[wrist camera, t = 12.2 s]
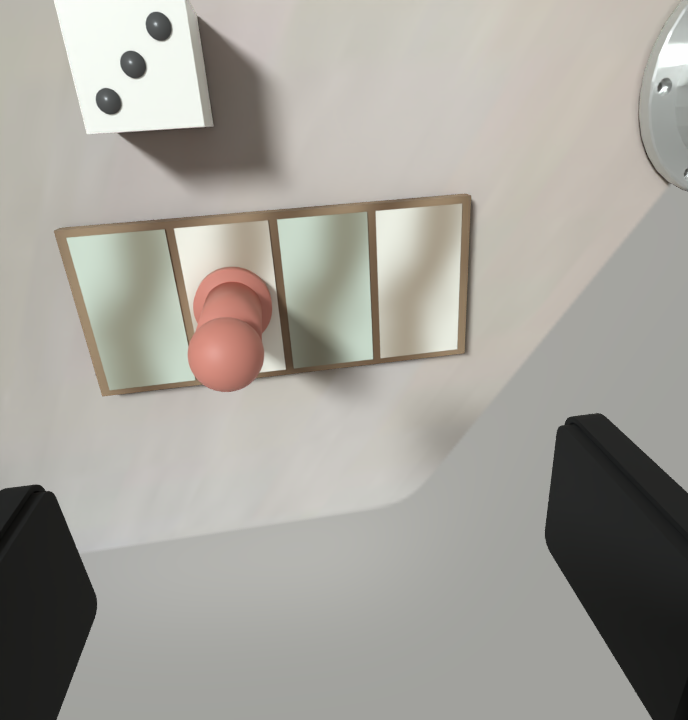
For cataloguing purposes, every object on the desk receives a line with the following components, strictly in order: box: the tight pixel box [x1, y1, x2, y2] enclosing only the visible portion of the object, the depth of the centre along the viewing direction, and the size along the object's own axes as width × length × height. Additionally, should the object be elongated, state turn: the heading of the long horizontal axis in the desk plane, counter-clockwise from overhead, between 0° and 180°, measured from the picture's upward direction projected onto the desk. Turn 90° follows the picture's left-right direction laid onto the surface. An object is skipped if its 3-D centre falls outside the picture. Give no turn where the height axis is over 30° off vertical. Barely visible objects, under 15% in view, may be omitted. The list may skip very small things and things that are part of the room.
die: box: [54, 0, 214, 134], centre depth 24 cm, size 5×5×5 cm
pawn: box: [188, 267, 272, 392], centre depth 26 cm, size 4×4×9 cm
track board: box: [54, 194, 471, 396], centre depth 31 cm, size 23×10×1 cm, turn 93°
